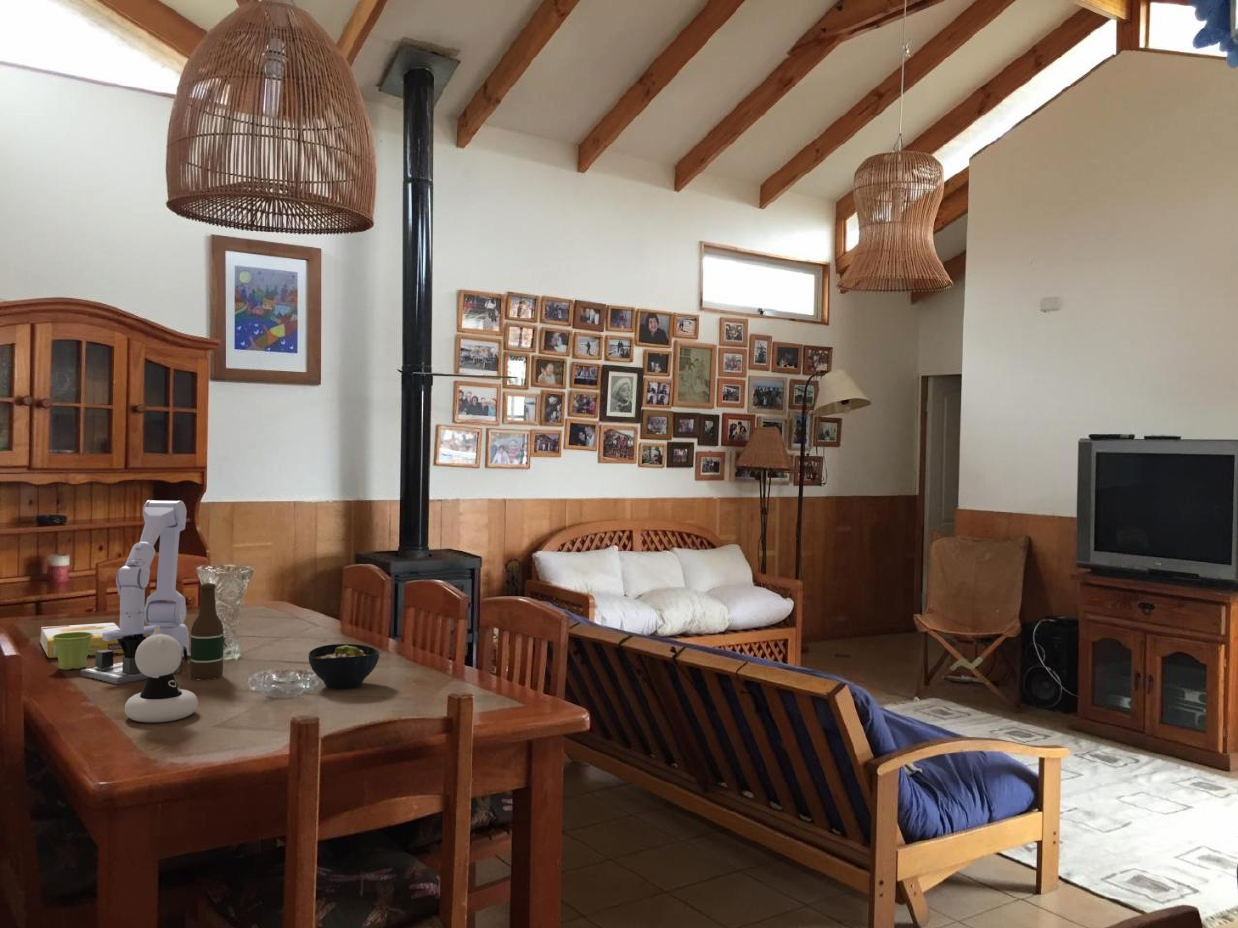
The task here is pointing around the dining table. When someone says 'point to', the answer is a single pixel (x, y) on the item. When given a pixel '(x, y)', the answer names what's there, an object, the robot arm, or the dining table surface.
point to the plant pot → (72, 649)
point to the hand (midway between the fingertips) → (131, 664)
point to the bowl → (343, 664)
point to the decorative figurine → (160, 682)
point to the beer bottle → (207, 638)
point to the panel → (114, 669)
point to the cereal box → (96, 629)
